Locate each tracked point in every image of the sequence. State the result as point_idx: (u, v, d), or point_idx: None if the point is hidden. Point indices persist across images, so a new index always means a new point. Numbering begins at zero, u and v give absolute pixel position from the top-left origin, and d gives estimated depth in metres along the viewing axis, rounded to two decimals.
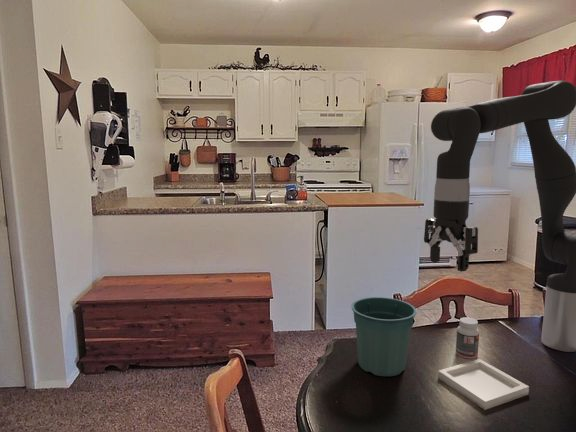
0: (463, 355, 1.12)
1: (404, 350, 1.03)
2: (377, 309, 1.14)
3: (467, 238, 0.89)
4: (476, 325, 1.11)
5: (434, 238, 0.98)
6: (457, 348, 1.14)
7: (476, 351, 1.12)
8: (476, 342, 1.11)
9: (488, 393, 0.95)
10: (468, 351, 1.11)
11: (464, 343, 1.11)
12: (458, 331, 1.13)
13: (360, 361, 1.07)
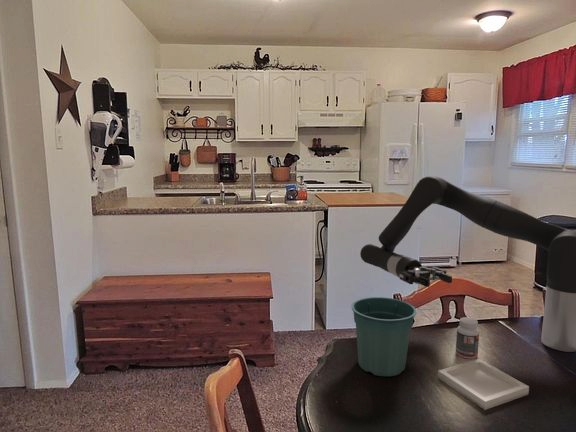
0: (463, 355, 1.12)
1: (404, 350, 1.03)
2: (377, 309, 1.14)
3: None
4: (476, 325, 1.11)
5: None
6: (457, 348, 1.14)
7: (476, 351, 1.12)
8: (476, 342, 1.11)
9: (488, 393, 0.95)
10: (468, 351, 1.11)
11: (464, 343, 1.11)
12: (458, 331, 1.13)
13: (360, 361, 1.07)
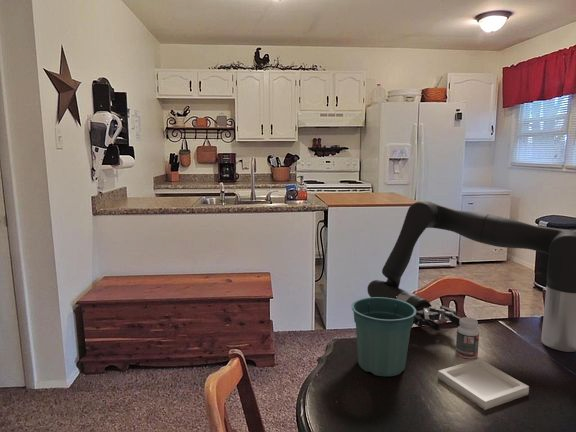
0: (463, 355, 1.12)
1: (404, 350, 1.03)
2: (377, 309, 1.14)
3: None
4: (476, 325, 1.11)
5: None
6: (457, 348, 1.14)
7: (476, 351, 1.12)
8: (476, 342, 1.11)
9: (488, 393, 0.95)
10: (468, 351, 1.11)
11: (464, 343, 1.11)
12: (458, 331, 1.13)
13: (360, 361, 1.07)
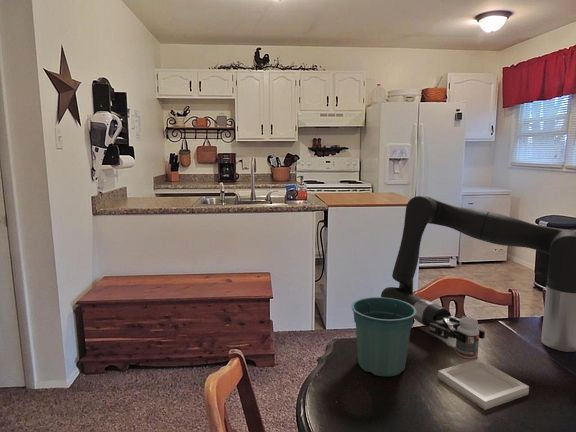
0: (463, 355, 1.12)
1: (404, 350, 1.03)
2: (377, 309, 1.14)
3: None
4: (476, 325, 1.11)
5: None
6: (457, 348, 1.14)
7: (476, 351, 1.12)
8: (476, 342, 1.11)
9: (488, 393, 0.95)
10: (468, 351, 1.11)
11: (464, 343, 1.11)
12: None
13: (360, 361, 1.07)
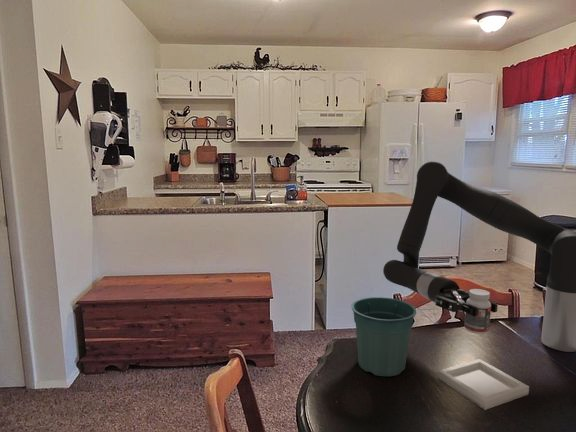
0: (473, 330, 1.01)
1: (404, 350, 1.03)
2: (377, 309, 1.14)
3: None
4: (488, 297, 1.00)
5: None
6: (466, 322, 1.02)
7: (487, 326, 1.00)
8: (488, 315, 1.00)
9: (488, 393, 0.95)
10: (478, 325, 1.00)
11: None
12: None
13: (360, 361, 1.07)
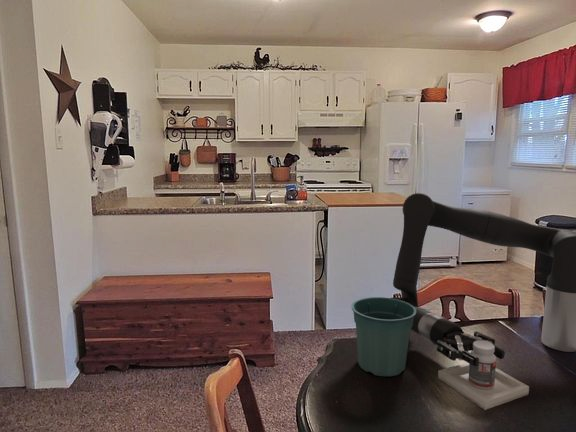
0: (478, 385, 0.97)
1: (404, 350, 1.03)
2: (377, 309, 1.14)
3: None
4: (493, 350, 0.96)
5: None
6: (470, 376, 0.98)
7: (493, 380, 0.96)
8: (493, 370, 0.96)
9: (488, 393, 0.95)
10: (483, 380, 0.96)
11: (478, 371, 0.96)
12: None
13: (360, 361, 1.07)
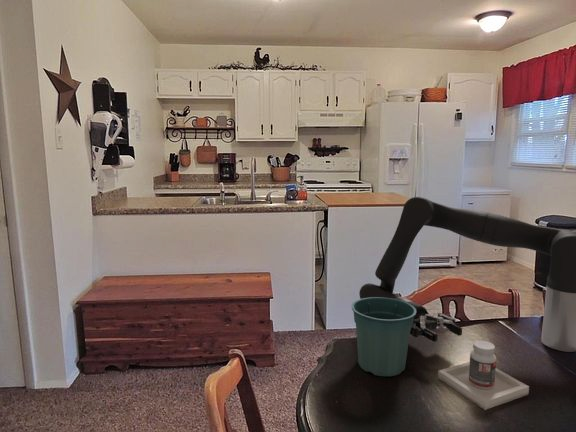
0: (478, 385, 0.97)
1: (404, 350, 1.03)
2: (377, 309, 1.14)
3: None
4: (493, 350, 0.96)
5: None
6: (470, 376, 0.98)
7: (493, 380, 0.96)
8: (493, 370, 0.96)
9: (488, 393, 0.95)
10: (483, 380, 0.96)
11: (479, 371, 0.96)
12: (472, 357, 0.98)
13: (360, 361, 1.07)
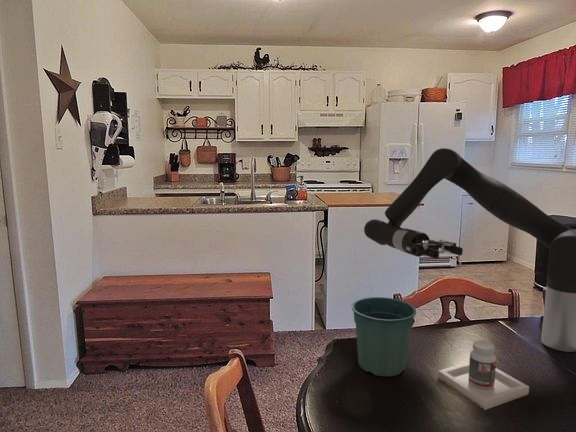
0: (478, 385, 0.97)
1: (404, 350, 1.03)
2: (377, 309, 1.14)
3: None
4: (493, 350, 0.96)
5: None
6: (470, 376, 0.98)
7: (493, 380, 0.96)
8: (493, 370, 0.96)
9: (488, 393, 0.95)
10: (483, 380, 0.96)
11: (478, 371, 0.96)
12: (472, 357, 0.98)
13: (360, 361, 1.07)
